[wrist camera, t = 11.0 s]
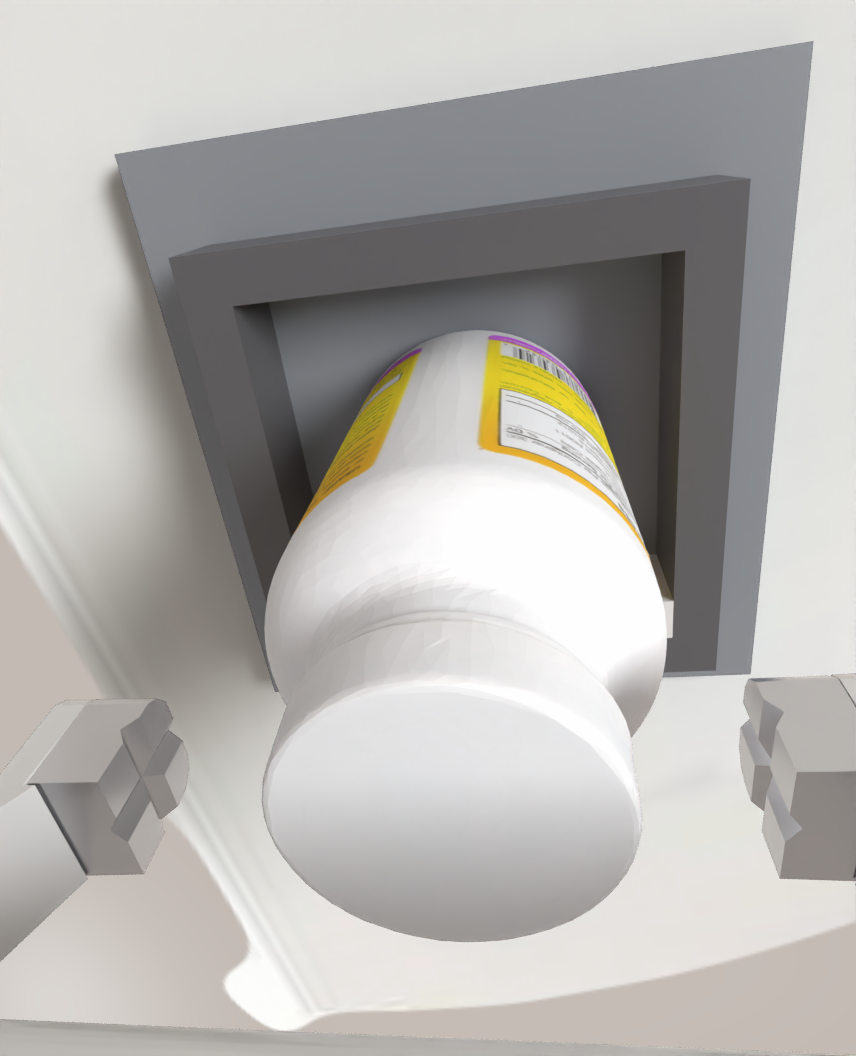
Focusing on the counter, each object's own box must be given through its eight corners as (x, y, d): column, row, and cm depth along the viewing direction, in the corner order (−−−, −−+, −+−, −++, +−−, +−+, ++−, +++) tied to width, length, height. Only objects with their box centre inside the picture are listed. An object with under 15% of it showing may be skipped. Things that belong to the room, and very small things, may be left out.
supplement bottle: (381, 552, 22) (246, 982, 11) (342, 337, 19) (94, 620, 8) (602, 538, 21) (713, 996, 10) (598, 310, 18) (755, 587, 7)
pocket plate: (133, 154, 18) (57, 154, 15) (796, 47, 16) (866, 21, 13) (282, 673, 26) (252, 744, 23) (741, 654, 23) (776, 730, 20)
